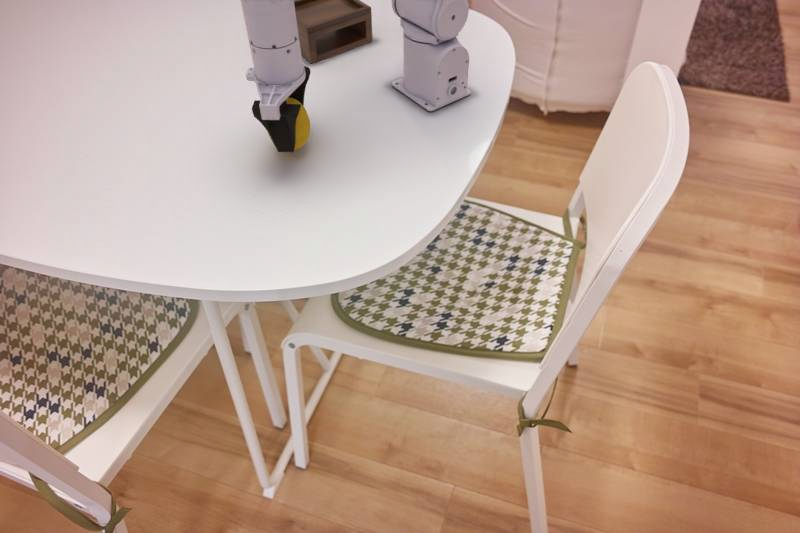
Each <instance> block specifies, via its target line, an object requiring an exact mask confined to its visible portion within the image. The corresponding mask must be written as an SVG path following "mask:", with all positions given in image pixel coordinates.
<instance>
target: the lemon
mask: <svg viewBox="0 0 800 533" xmlns="http://www.w3.org/2000/svg"><path fill="white" fill-rule="evenodd" d="M285 101H287V104H301V103H300V102H299V101H297V100H296V99H294V98H290V97H288V98H287V99H286V100H285ZM285 101H284V102H285ZM310 133H311V121H310V117H309V114H308V111H307V110H306V108H305V105H304V106H303V105H302V104H301V108H300V111H299V114H298V116H297V119H296V142H295V148H294V151H296V150H298V149H301V148H302V147H304V146H305V144H306V143H307V141H308V139H309V137H310V135H311V134H310ZM267 135H268V136H269V138H270V140H271V142H272V143H273V141H272V139H271V137H270V135H269V133H268V132H267Z"/></svg>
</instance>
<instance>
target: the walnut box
mask: <svg viewBox="0 0 800 533" xmlns="http://www.w3.org/2000/svg"><path fill="white" fill-rule="evenodd" d="M294 5H295V12H296V20H297V27H298V34H299V42H300V49H301V56H302V59H304V60H306V61H307V62H308V63H310V64H311V65H312V64H314V63H317V62H321V61H323V60H326V59H328V58H332V57H334V56H336V55H339V54H342V53H344V52H347V51H350V50H353V49H356V48H359V47H361V46H364V45H366V44H369V43H372V42H374V41H373V19H372V15H373V14H372V7H371V6H370V5H368V4H366V3H365V2H364V1H362V0H294Z"/></svg>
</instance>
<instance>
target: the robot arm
mask: <svg viewBox="0 0 800 533" xmlns="http://www.w3.org/2000/svg"><path fill="white" fill-rule="evenodd" d="M240 4H241V8H242V14H243V18H244V24H245V30H246V35H247V39H248V45H249V49H250V55H251V58H252V64H253V67H249V68H248V69H247V71H246V72H245V79H246V80H247V82H254V83H255V86H256V89H257V93H258V96H259V100H258V99H257V100H254V101H253V104H252V107H251V112H252V115H253V117H254V118H255V119H256V120H257V121H258V122H259V123H260V124H261V125H262V126H263V127H264V129H265V130H266V132H267V134H268V133H269V134H268V136H269V135H270V136H269V138H270V137H271V138H270V140H271V139H272V140H271V142H272V141H273V142H272V143H273V146H274V147H275V149H276V151H277V152H278V153H294V152H295V150H294V148H295V142H296V119H297V116H298V114H299V111H300V108H301V104H302V105H303V106H304V107H305V94H306V87H307V85H308V81H309V79H310V76H311V68H310V67H308V66H307V65H306V66H305V65H304V63H303V57H302V56H301V49H300V42H299V34H298V27H297V20H296V12H295V5H294V0H240ZM391 7H392V11H393V13H394V14H395V15H396V16H397V17H398V18H400V21H399V22H400V27H401V28H402V30H403V31H402V32H403V34H402V35H403V42H402V44H403V46H402V48H403V50H402V51H403V57H402V58H403V76H402V77H400V78H398V79H395V80H393V81H391V86H392V87H394V89H396V90H397V91H399V92H400V93H401V94H404V95H405V96H406V97H408V98H409V99H411V100H412V101H414V102H415V103H416V104H418V105H419V106H420V107H422V108H423V109H425V110H426V111H428V112H433V111H436V110H437V109H441V108H442V107H444V106H447V105H449V104H452V103H453V102H456V101H458V100H461V99H463V98H465V97H467V96H469V95H471V94H472V92H471V90H470V89H469V88H468V80H469V69H470V68H469V66H470V55H469V51H468V50H467V48H466V47H465V46H463V45H462V44H461V42H460V41H459V40H458V38H457V36H459V34H460V33H461V31H462V29H463V28H464V27H465V25H466V23H467V20H468V16H469V11H470V5H469V0H391ZM288 97H290V98H294V99H296V100H297V101H299V102H300V103H301V104H287V101H285V100H286V99H287V98H288ZM284 101H285V102H284Z"/></svg>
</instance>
